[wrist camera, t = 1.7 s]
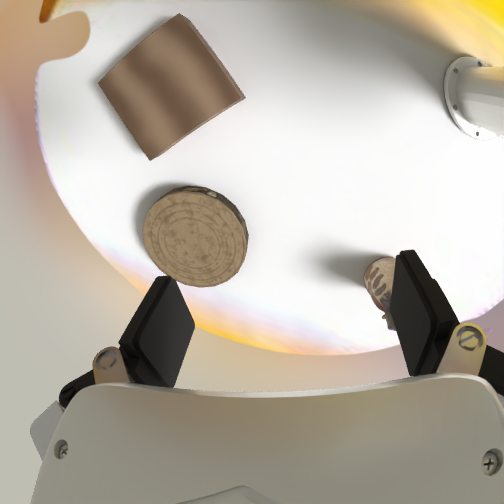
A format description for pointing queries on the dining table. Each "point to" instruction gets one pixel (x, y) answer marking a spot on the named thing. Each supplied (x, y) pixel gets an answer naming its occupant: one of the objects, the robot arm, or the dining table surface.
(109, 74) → the walnut base
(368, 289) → the figurine
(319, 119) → the dining table surface
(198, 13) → the dining table surface
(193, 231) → the wood slice coaster
